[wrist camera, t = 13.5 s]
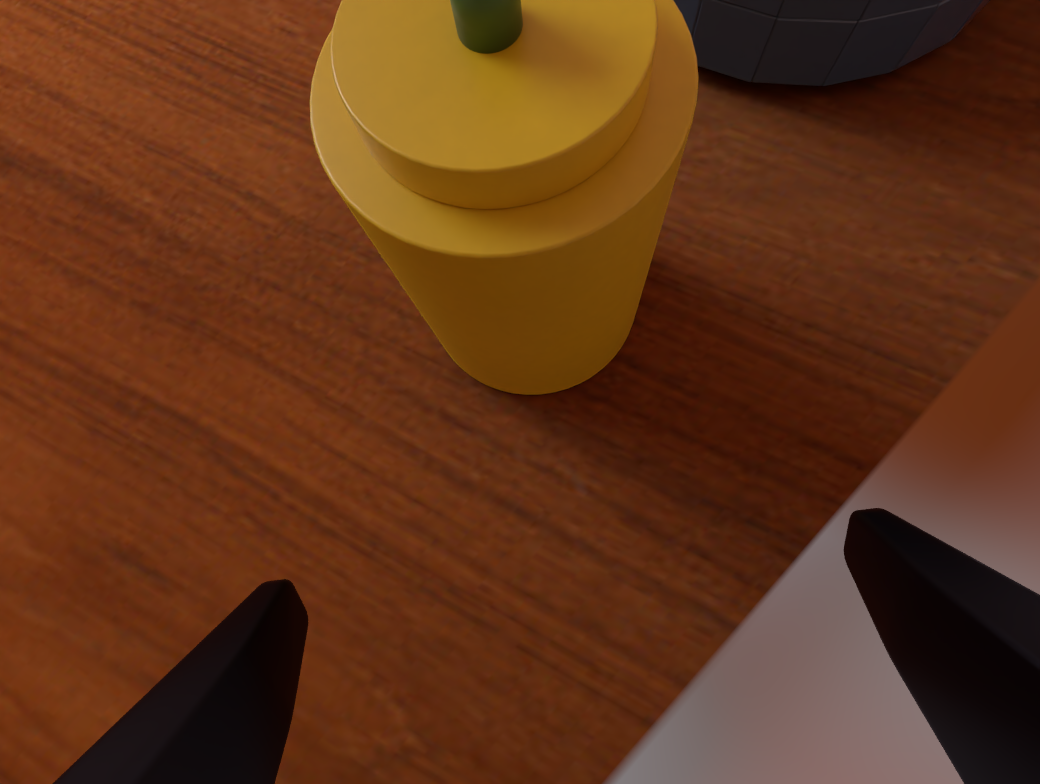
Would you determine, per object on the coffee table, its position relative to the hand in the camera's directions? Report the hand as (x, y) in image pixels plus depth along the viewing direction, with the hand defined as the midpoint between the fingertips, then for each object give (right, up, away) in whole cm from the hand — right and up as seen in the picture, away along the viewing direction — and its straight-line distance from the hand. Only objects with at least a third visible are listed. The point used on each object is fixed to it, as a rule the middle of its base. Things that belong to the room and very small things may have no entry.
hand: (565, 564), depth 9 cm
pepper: (0, +6, +9) cm, 11 cm away
